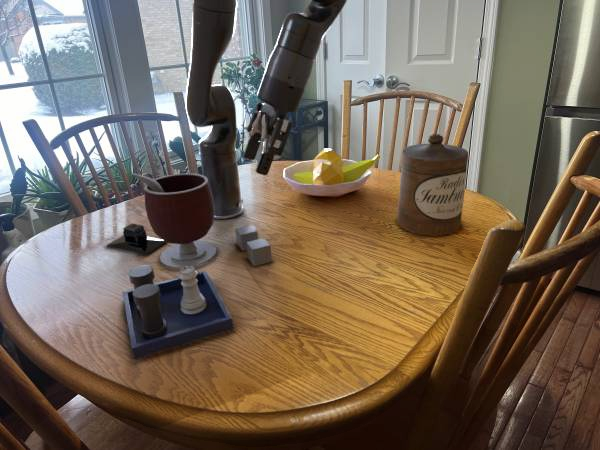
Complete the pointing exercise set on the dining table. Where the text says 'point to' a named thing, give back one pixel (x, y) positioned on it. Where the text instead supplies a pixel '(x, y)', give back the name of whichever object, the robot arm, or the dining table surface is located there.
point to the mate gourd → (180, 216)
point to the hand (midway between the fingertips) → (254, 165)
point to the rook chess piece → (191, 292)
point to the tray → (178, 317)
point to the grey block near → (259, 252)
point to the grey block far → (245, 236)
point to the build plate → (136, 240)
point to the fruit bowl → (328, 174)
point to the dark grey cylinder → (150, 311)
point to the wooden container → (432, 187)
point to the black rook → (141, 277)
